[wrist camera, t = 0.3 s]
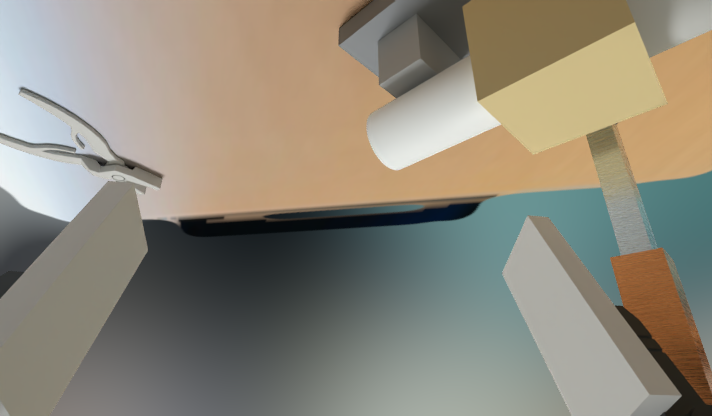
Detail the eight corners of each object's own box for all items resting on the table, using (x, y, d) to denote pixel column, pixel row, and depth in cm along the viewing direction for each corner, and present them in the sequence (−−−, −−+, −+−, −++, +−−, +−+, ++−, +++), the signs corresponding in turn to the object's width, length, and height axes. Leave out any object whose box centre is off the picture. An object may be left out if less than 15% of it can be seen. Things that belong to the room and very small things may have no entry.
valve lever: (569, 106, 25) (659, 428, 17) (553, 85, 23) (646, 431, 16) (621, 84, 23) (745, 431, 16) (608, 59, 21) (740, 435, 14)
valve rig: (434, 107, 34) (446, 217, 29) (339, 28, 26) (335, 159, 22) (814, -96, 20) (939, 57, 15) (830, -378, 13) (1072, -235, 8)
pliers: (19, 100, 31) (181, 182, 43) (26, 84, 32) (184, 169, 44) (-39, 137, 35) (123, 202, 47) (-31, 122, 36) (126, 190, 48)
